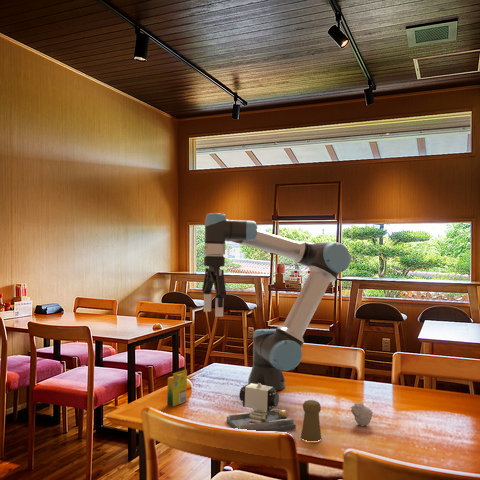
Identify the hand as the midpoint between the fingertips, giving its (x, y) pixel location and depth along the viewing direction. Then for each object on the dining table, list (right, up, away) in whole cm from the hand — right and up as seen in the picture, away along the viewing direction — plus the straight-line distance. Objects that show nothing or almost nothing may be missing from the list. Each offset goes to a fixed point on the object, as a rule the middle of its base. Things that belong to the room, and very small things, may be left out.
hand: (213, 314), depth 164 cm
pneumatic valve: (+16, -30, -23) cm, 41 cm away
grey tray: (+16, -32, -22) cm, 42 cm away
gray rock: (+49, -33, -20) cm, 62 cm away
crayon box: (-13, -32, -4) cm, 34 cm away
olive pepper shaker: (+31, -32, -31) cm, 54 cm away
